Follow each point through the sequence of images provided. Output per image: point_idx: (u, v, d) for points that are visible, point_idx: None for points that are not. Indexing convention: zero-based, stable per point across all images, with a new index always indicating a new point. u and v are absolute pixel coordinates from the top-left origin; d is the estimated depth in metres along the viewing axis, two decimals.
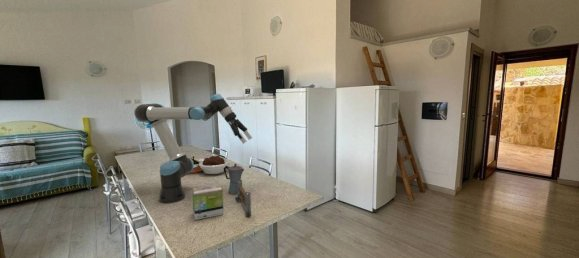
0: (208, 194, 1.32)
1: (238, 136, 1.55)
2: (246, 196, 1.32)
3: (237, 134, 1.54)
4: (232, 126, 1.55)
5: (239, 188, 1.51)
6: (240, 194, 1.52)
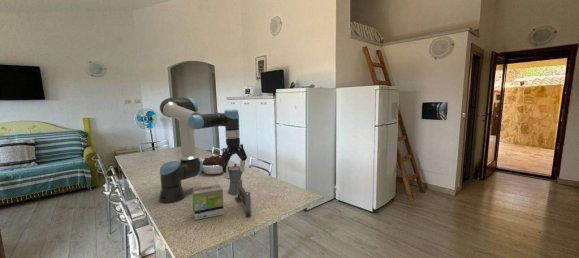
0: (208, 194, 1.32)
1: (222, 168, 1.32)
2: (246, 196, 1.32)
3: None
4: (223, 155, 1.31)
5: (239, 188, 1.51)
6: (240, 194, 1.52)
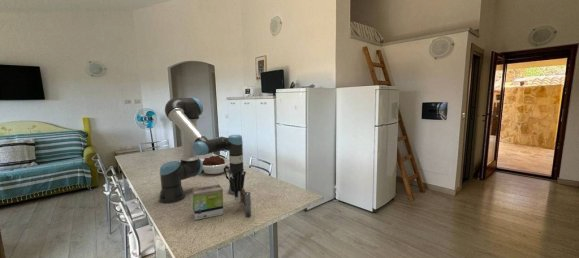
0: (208, 194, 1.32)
1: (234, 193, 1.41)
2: (246, 196, 1.32)
3: None
4: (231, 183, 1.37)
5: None
6: None
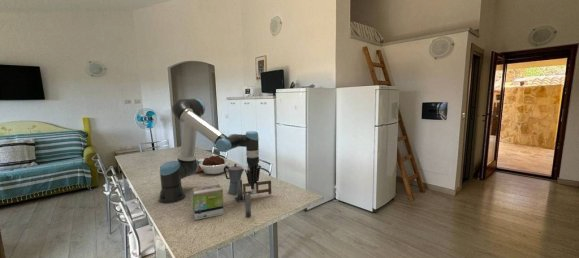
0: (208, 194, 1.32)
1: (251, 185, 1.53)
2: (246, 196, 1.32)
3: (251, 183, 1.52)
4: (248, 175, 1.49)
5: (245, 186, 1.55)
6: (245, 191, 1.56)
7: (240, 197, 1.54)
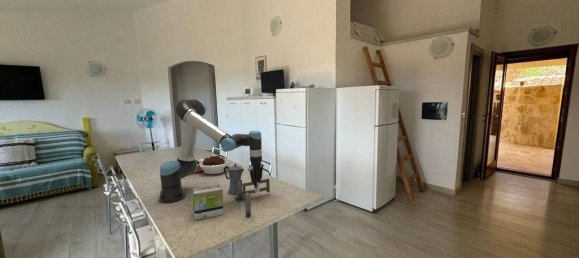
0: (208, 194, 1.32)
1: (254, 184, 1.56)
2: (246, 196, 1.32)
3: (254, 182, 1.55)
4: (251, 174, 1.52)
5: None
6: None
7: (240, 197, 1.54)
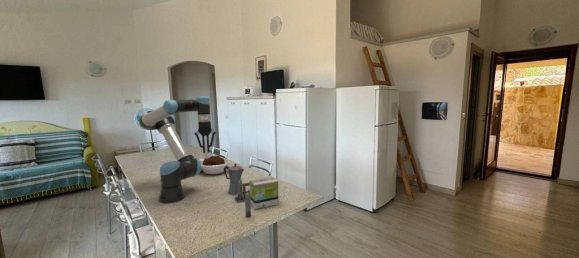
0: (266, 185, 1.44)
1: None
2: (246, 196, 1.32)
3: (202, 147, 1.56)
4: (197, 138, 1.54)
5: None
6: None
7: (240, 197, 1.54)
